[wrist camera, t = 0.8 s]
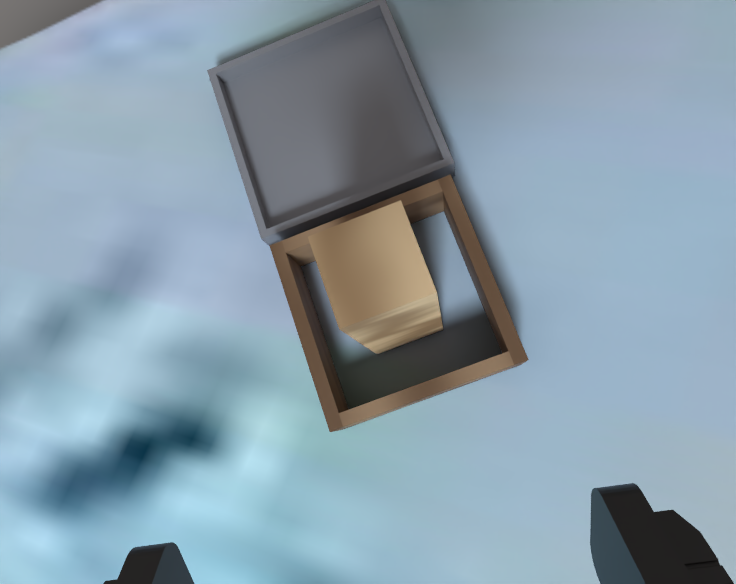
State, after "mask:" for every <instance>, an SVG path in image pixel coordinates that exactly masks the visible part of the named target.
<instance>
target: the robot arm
mask: <svg viewBox="0 0 736 584" xmlns="http://www.w3.org/2000/svg"><path fill="white" fill-rule="evenodd" d="M590 545H591V553H592V558H593V563H594V566H595V570H596V573H597V576H598V578H599V581H600V583H601V584H734V583H733V581H732V580H731V578H730V577H729V575H728V574H727V572H726V571H725V569H724V568H723V566H722V565H721V566H720V564H719V562H718V559H717V557H716V555H715V554H714V552H713V551H712V549H711V548H710V546H709V545H708V543H707V542H706V540H705V539H704V537H703V536H702V534H701V533H700V531H698V530H697V529H696V528H695V527H693V526H692V525H691V524H690V523H688V522H687V521H686V520H685V519H684V518H682V517H681V516H680V515H679V514H677V513H676V512H675V511H674V510H667V511H659V512H653V510H652V508H651V506H650V505H649V503H648V501H647V500H646V498H645V496H644V495H643V493H642V491H641V490H640V488H639V487H638V486H637V485H636V484H634V483H631V484H624V485H616V486H609V487H601V488H594V489H593V490H592V493H591V535H590ZM104 584H194V582H193V580H192V577H191V575H190V573H189V571H188V569H187V566H186V564H185V562H184V560H183V557H182V555H181V553H180V551H179V549H178V547H177V545H176V544H175V543H172V542H171V543H164V544H156V545H149V546H141V547H135V548H133V549H132V550H131V551H130V552H129V554H128V556H127V558H126V560H125V562H124V565H123V567H122V570H121V572H120V575H119V577H118V579H117V580H110V581H105V582H104Z"/></svg>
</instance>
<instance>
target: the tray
mask: <svg viewBox="0 0 736 584" xmlns="http://www.w3.org/2000/svg"><path fill="white" fill-rule="evenodd" d="M207 71H208V74H209V77H210V80H211V83H212V87H213V90H214V93H215V96H216V99H217V102H218V105H219V108H220V111H221V115H222V118H223V121H224V124H225V127H226V130H227V133H228V136H229V140H230V143H231V146H232V149H233V152H234V155H235V158H236V161H237V164H238V168H239V171H240V174H241V177H242V180H243V183H244V186H245V189H246V193H247V196H248V199H249V202H250V205H251V208H252V211H253V214H254V217H255V221H256V224H257V227H258V230H259V233H260V236H261V239H262V240H263V241H264V242H265V243H267V244H268V245H269V246H270V245H272V244H275V243H277V242H280V241H282V240H285V239H287V238H290V237H292V236H295V235H298V234H300V233H303V232H305V231H308V230H310V229H313V228H315V227H318V226H320V225H323V224H326V223H328V222H331V221H333V220H336V219H338V218H341V217H343V216H346V215H348V214H351V213H354V212H356V211H359V210H361V209H364V208H366V207H369V206H371V205H374V204H377V203H379V202H382V201H384V200H387V199H389V198H392V197H394V196H397V195H399V194H402V193H405V192H407V191H410V190H412V189H415V188H417V187H420V186H422V185H425V184H427V183H430V182H433V181H435V180H438V179H440V178H443V177H445V176H448V175H450V174H451V177H452V176H455V172H454V161H453V158H452V156H451V154H450V151H449V149H448V147H447V144H446V142H445V140H444V137H443V135H442V133H441V130H440V128H439V125H438V123H437V121H436V118H435V116H434V114H433V111H432V109H431V107H430V104H429V102H428V100H427V97H426V95H425V92H424V90H423V88H422V85H421V83H420V81H419V78H418V76H417V74H416V71H415V69H414V66H413V64H412V62H411V59H410V57H409V55H408V52H407V50H406V48H405V45H404V43H403V41H402V38H401V36H400V33H399V31H398V29H397V26H396V24H395V22H394V19H393V17H392V15H391V12H390V10H389V8H388V5H387V3H386V0H374V1H371V2H369V3H367V4H364V5H362V6H359V7H357V8H355V9H352V10H350V11H348V12H345V13H343V14H340V15H338V16H336V17H333V18H331V19H329V20H326V21H324V22H321V23H319V24H317V25H314V26H312V27H309V28H307V29H305V30H302V31H300V32H298V33H295V34H293V35H290V36H288V37H286V38H283V39H281V40H278V41H276V42H274V43H271V44H269V45H267V46H264V47H262V48H259V49H257V50H255V51H252V52H250V53H248V54H245V55H243V56H240V57H238V58H236V59H233V60H231V61H228V62H226V63H224V64H221V65H219V66H217V67H214V68H212V69H209V70H207Z"/></svg>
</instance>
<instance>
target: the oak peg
mask: <svg viewBox="0 0 736 584" xmlns="http://www.w3.org/2000/svg"><path fill="white" fill-rule="evenodd" d="M308 239H309V242H310V245H311V248H312V251H313V254H314V257H315V260H316V263H317V266H318V268H319V271H320V274H321V277H322V280H323V283H324V286H325V289H326V292H327V295H328V298H329V301H330V304H331V306H332V309H333V312H334V315H335V318H336V321H337V324H338V327H339V329H340V330H341V331H343V332H344V333H346V334H347V335H349V336H350V337H352V338H353V339H355V340H356V341H358V342H359V343H361V344H362V345H364V346H365V347H367V348H368V349H370V350H371V351H373V352H374V353H376V354H380V353H383V352H385V351H388V350H391V349H393V348H396V347H399V346H401V345H404V344H407V343H409V342H412V341H415V340H418V339H420V338H423V337H426V336H428V335H431V334H434V333H436V332H439V331H442V330H443V325H442V319H441V313H440V307H439V301H438V295H437V291H436V289H435V286H434V284H433V281H432V278H431V276H430V273H429V271H428V268H427V266H426V263H425V261H424V258H423V255H422V253H421V250H420V248H419V245H418V243H417V240H416V238H415V235H414V232H413V230H412V227H411V225H410V222H409V220H408V217H407V215H406V212H405V209H404V207H403V204H402V202H401V200H400V201H397V202H395V203H392V204H390V205H387V206H385V207H382V208H380V209H377V210H374V211H372V212H369V213H367V214H364V215H362V216H359V217H357V218H354V219H351V220H349V221H346V222H344V223H341V224H339V225H336V226H334V227H331V228H328V229H326V230H323V231H321V232H318V233H316V234H313V235H311V236H308Z"/></svg>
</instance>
